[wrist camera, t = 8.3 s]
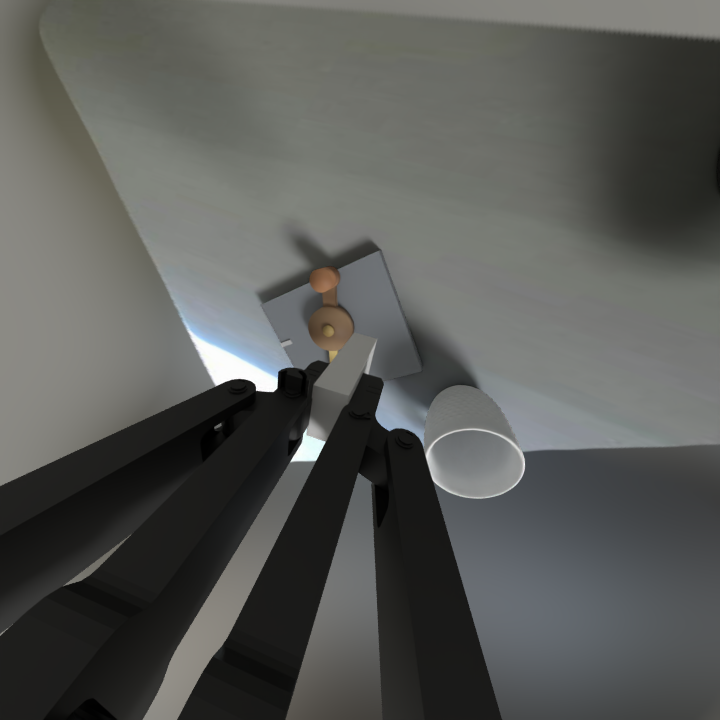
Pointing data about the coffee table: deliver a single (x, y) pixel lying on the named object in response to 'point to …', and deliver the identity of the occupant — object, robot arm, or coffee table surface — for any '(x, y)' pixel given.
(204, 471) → the robot arm
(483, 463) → the mug
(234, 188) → the coffee table surface
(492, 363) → the coffee table surface
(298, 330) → the board
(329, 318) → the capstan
